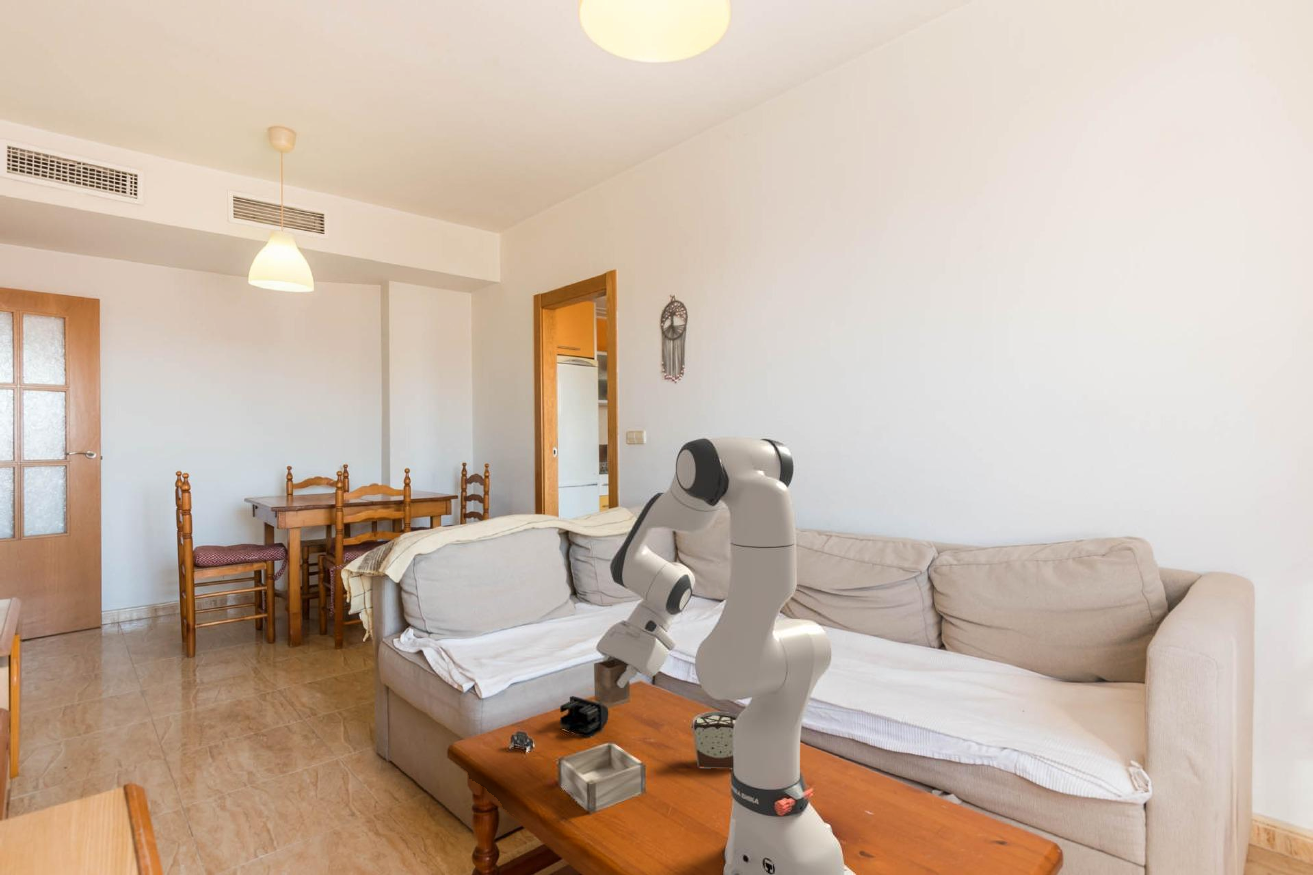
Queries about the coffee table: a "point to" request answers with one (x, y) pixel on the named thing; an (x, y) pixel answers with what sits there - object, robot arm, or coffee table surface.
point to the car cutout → (521, 741)
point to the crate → (601, 776)
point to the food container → (714, 739)
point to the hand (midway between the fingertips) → (609, 681)
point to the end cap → (583, 716)
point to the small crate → (610, 683)
